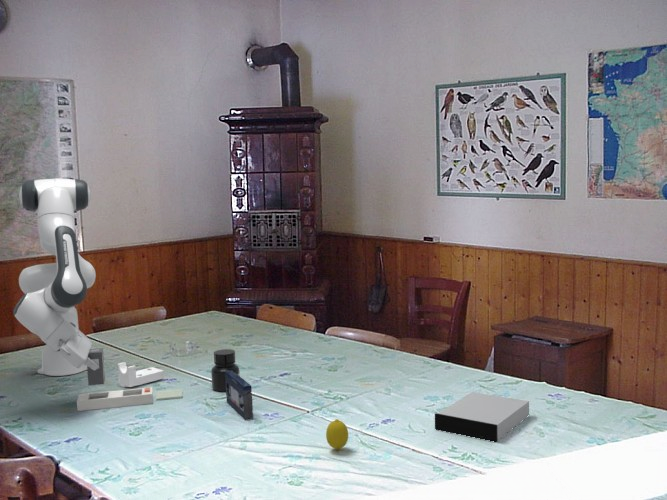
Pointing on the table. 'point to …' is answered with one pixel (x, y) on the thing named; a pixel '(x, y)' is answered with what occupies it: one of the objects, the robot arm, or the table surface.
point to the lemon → (337, 434)
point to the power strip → (115, 399)
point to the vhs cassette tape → (239, 395)
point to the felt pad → (169, 394)
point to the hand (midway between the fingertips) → (97, 365)
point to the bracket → (137, 375)
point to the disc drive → (482, 416)
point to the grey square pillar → (99, 374)
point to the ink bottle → (223, 368)
